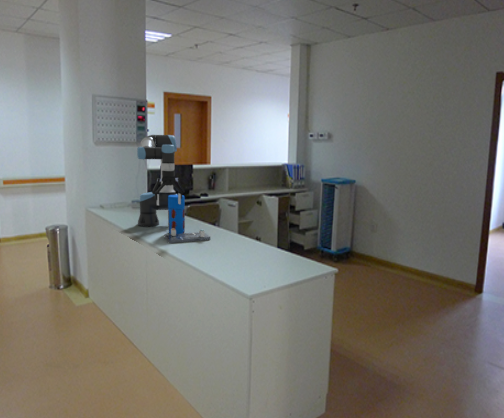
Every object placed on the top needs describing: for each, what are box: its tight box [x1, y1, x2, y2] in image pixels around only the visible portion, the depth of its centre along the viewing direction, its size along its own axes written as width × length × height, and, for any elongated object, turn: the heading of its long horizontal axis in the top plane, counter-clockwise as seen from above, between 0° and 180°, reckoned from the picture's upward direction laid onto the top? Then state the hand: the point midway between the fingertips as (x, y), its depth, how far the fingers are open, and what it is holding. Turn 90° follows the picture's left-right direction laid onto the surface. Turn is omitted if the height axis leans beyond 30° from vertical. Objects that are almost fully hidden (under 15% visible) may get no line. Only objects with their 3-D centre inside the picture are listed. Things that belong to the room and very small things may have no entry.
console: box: [163, 231, 211, 244], centre depth 254 cm, size 15×26×2 cm, turn 115°
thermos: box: [167, 194, 186, 235], centre depth 269 cm, size 11×11×25 cm
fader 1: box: [170, 228, 176, 236], centre depth 254 cm, size 4×2×4 cm, turn 25°
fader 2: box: [198, 228, 206, 237], centre depth 253 cm, size 4×2×4 cm, turn 25°
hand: (168, 204), depth 248 cm, fingers open, 13 cm apart
